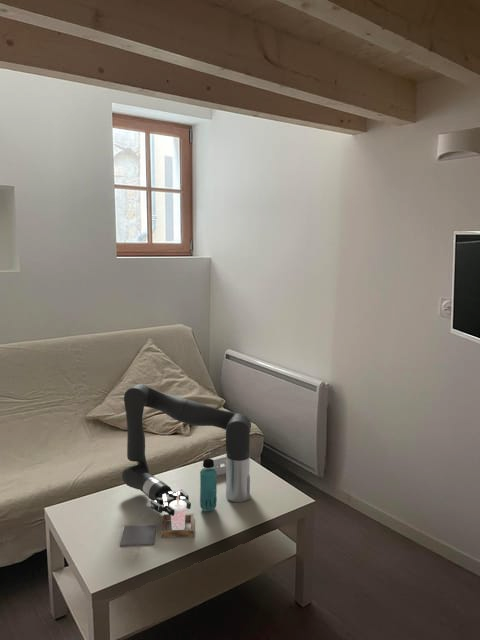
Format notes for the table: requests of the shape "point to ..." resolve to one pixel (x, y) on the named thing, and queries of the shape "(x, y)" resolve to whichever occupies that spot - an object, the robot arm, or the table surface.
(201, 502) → the beverage bottle
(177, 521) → the beverage cup
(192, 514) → the walnut holder
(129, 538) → the rubber mat
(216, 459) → the cassette
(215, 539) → the table surface
